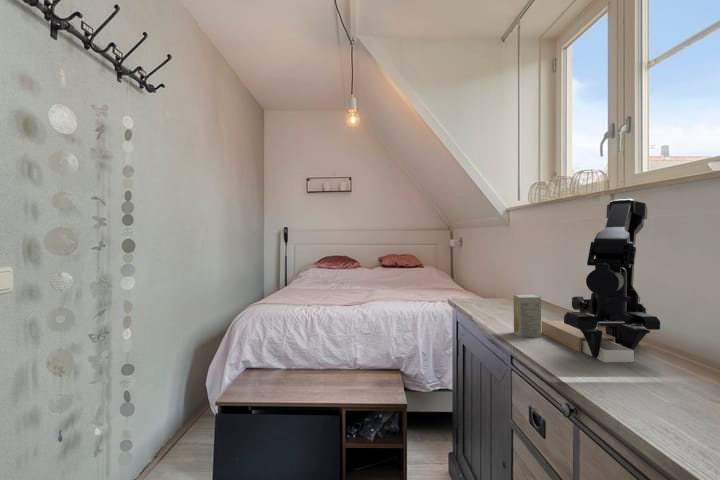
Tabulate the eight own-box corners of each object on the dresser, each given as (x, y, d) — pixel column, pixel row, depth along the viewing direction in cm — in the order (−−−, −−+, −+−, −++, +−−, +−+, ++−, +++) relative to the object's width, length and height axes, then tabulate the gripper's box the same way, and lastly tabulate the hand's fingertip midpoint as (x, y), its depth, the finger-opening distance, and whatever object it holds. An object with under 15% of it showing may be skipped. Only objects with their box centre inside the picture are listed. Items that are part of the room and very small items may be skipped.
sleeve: (571, 335, 96) (571, 320, 96) (615, 355, 80) (615, 337, 80) (541, 335, 96) (541, 320, 96) (579, 355, 80) (579, 337, 80)
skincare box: (535, 335, 96) (535, 294, 96) (541, 340, 91) (542, 297, 91) (512, 335, 96) (512, 294, 96) (518, 339, 92) (518, 296, 92)
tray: (583, 341, 90) (583, 330, 90) (633, 363, 74) (633, 350, 74) (559, 341, 89) (559, 330, 89) (603, 363, 73) (604, 350, 73)
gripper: (622, 285, 84) (621, 345, 84) (550, 285, 84) (549, 345, 84) (662, 292, 73) (662, 362, 73) (580, 292, 73) (579, 362, 73)
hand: (610, 357), depth 76 cm, fingers closed on tray, 7 cm apart
